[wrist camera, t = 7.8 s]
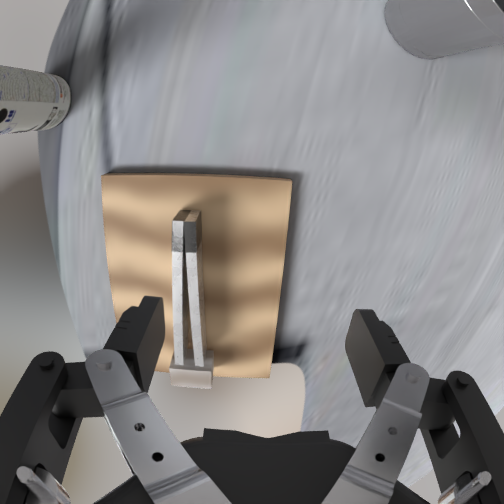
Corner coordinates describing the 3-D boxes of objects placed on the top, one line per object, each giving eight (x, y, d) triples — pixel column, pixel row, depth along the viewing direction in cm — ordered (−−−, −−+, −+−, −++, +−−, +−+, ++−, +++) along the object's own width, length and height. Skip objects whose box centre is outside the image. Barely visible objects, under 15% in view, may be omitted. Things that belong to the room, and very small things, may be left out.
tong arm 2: (207, 345, 38) (204, 366, 35) (198, 345, 38) (194, 366, 35) (201, 210, 32) (195, 221, 28) (190, 210, 32) (183, 221, 28)
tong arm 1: (188, 344, 38) (183, 365, 35) (179, 343, 38) (174, 364, 35) (190, 210, 32) (183, 221, 28) (180, 209, 32) (172, 220, 28)
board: (106, 173, 32) (84, 182, 27) (290, 178, 33) (298, 188, 28) (128, 360, 41) (117, 386, 36) (268, 370, 42) (271, 399, 37)
